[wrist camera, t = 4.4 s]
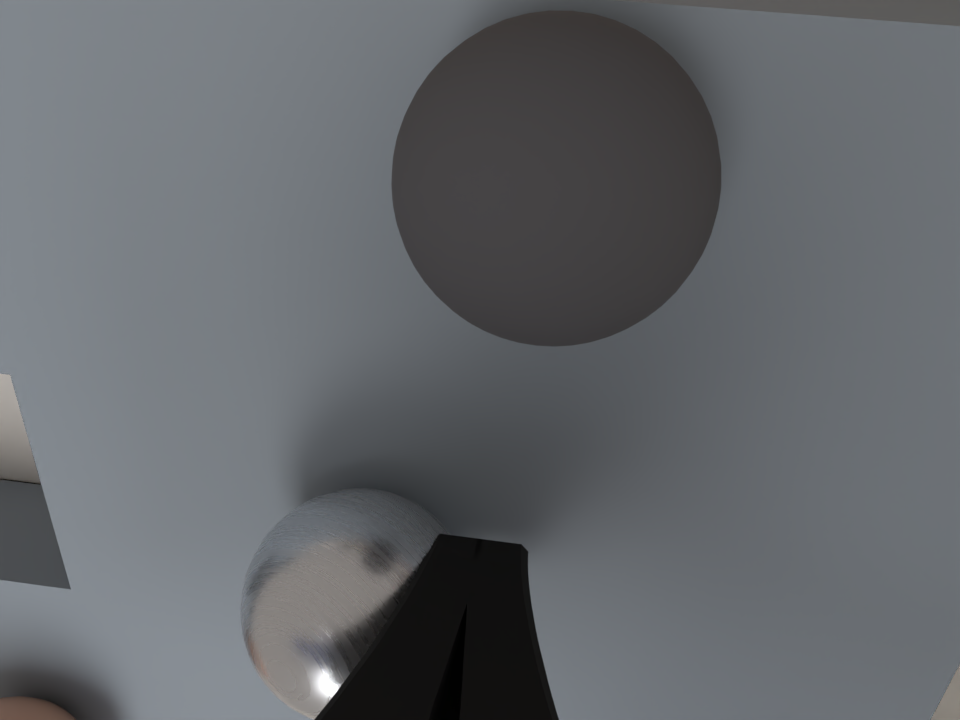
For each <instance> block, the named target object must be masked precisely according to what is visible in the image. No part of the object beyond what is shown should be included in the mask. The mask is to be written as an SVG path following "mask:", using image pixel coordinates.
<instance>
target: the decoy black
mask: <svg viewBox="0 0 960 720" xmlns="http://www.w3.org/2000/svg"><path fill="white" fill-rule="evenodd" d="M391 187H392V201H393V208H394V213H395V218H396V223H397V226H398V229H399V232H400V235H401V238H402V241H403V244H404V247H405V249H406V251H407V253H408V255H409V257H410V259H411V261H412V263H413V265H414V267H415V269H416V270H417V272H418V273H419V275H420V276H421V278H422V279H423V281H424V282H425V283H426V284H427V285H428V287H429V288H430V289H431V290H432V291H433V292H434V294H435V295H436V296H437V297H438V298H439V299H440V300H441V301H442V302H443V303H445V304H446V305H447V306H448V307H449V308H450V309H451V310H452V311H453V312H455V313H456V314H458V315H459V316H460V317H462V318H463V319H464V320H466V321H467V322H469V323H471V324H472V325H474V326H476V327H478V328H480V329H481V330H483V331H486V332H488V333H490V334H493V335H495V336H498V337H500V338H503V339H507V340H510V341H514V342H517V343H523V344H529V345H535V346H553V347H556V346H572V345H578V344H584V343H589V342H593V341H597V340H600V339H603V338H607V337H609V336H612V335H614V334H616V333H619V332H621V331H623V330H626V329H628V328H630V327H631V326H633V325H635V324H636V323H638V322H640V321H642V320H643V319H645V318H647V317H648V316H649V315H651V314H652V313H653V312H655V311H656V310H657V309H659V308H660V307H661V306H662V305H663V304H664V303H665V302H666V301H667V300H669V299H670V298H671V297H672V296H673V295H674V294H675V293H676V292H677V290H678V289H679V288H680V286H681V285H682V284H683V283H684V281H685V280H686V279H687V278H688V276H689V275H690V274H691V272H692V271H693V269H694V268H695V266H696V264H697V263H698V261H699V259H700V258H701V256H702V254H703V252H704V250H705V248H706V245H707V243H708V241H709V238H710V236H711V233H712V230H713V226H714V222H715V219H716V215H717V211H718V207H719V200H720V193H721V160H720V153H719V146H718V139H717V135H716V131H715V128H714V124H713V121H712V118H711V115H710V113H709V110H708V108H707V106H706V104H705V102H704V99H703V97H702V95H701V94H700V92H699V91H698V89H697V88H696V86H695V84H694V83H693V81H692V80H691V78H690V77H689V75H688V74H687V73H686V72H685V70H684V69H683V68H682V67H681V66H680V65H679V64H678V62H677V61H676V60H675V59H674V58H673V57H672V56H671V55H670V54H669V53H668V52H667V51H665V50H664V49H663V48H662V47H661V46H660V45H659V44H657V43H656V42H655V41H653V40H652V39H650V38H649V37H647V36H646V35H644V34H642V33H641V32H639V31H638V30H636V29H634V28H632V27H629V26H627V25H625V24H623V23H621V22H619V21H616V20H613V19H610V18H606V17H603V16H600V15H596V14H591V13H584V12H578V11H553V10H549V11H541V12H534V13H526V14H523V15H519V16H516V17H512V18H508V19H505V20H502V21H500V22H498V23H496V24H493V25H491V26H489V27H486V28H484V29H482V30H481V31H479V32H478V33H476V34H474V35H473V36H471V37H469V38H468V39H466V40H465V41H463V42H462V43H461V44H460V45H458V46H457V47H456V48H455V49H454V50H452V51H451V52H450V53H449V54H447V55H446V56H445V57H444V58H443V59H442V60H441V61H440V62H439V63H438V64H437V65H436V67H435V68H434V69H433V70H432V71H431V72H430V73H429V74H428V76H427V77H426V79H425V80H424V81H423V83H422V84H421V86H420V87H419V89H418V90H417V92H416V94H415V96H414V97H413V99H412V101H411V103H410V105H409V107H408V109H407V111H406V113H405V116H404V118H403V121H402V124H401V127H400V130H399V132H398V135H397V139H396V144H395V149H394V154H393V165H392V181H391Z"/></svg>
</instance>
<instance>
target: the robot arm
mask: <svg viewBox="0 0 960 720" xmlns="http://www.w3.org/2000/svg"><path fill="white" fill-rule="evenodd" d="M314 720H559V718H558V715H557V712H556V708H555V705H554V701H553V698H552V694H551V691H550V687H549V683H548V679H547V675H546V671H545V667H544V663H543V659H542V655H541V651H540V647H539V642H538V637H537V632H536V627H535V622H534V616H533V610H532V604H531V596H530V588H529V577H528V551H527V550H526V548H525V547H524V546H523V545H522V544H516V543H509V542H501V541H493V540H486V539H478V538H470V537H462V536H455V535H447V534H439V535H438V536H437V538H436V540H435V542H434V544H433V545H432V547H431V549H430V550H429V552H428V553H427V555H426V556H425V557H424V559H423V560H422V562H421V564H420V566H419V568H418V570H417V572H416V573H415V575H414V577H413V579H412V581H411V582H410V584H409V586H408V588H407V589H406V591H405V593H404V594H403V596H402V598H401V599H400V601H399V603H398V604H397V606H396V608H395V609H394V611H393V612H392V614H391V615H390V617H389V618H388V620H387V621H386V623H385V624H384V626H383V627H382V629H381V630H380V632H379V633H378V635H377V636H376V638H375V639H374V641H373V642H372V644H371V645H370V647H369V648H368V650H367V651H366V653H365V654H364V656H363V657H362V658H361V660H360V661H359V662H358V664H357V665H356V666H355V668H354V669H353V670H352V672H351V673H350V674H349V676H348V677H347V678H346V680H345V681H344V682H343V684H342V685H341V686H340V688H339V689H338V690H337V692H336V693H335V694H334V696H333V697H332V698H331V699H330V701H329V702H328V703H327V705H326V706H325V707H324V708H323V710H322V711H321V712H320V713H319V715H318V716H317V717H316V718H315V719H314Z"/></svg>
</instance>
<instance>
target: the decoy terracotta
mask: <svg viewBox="0 0 960 720" xmlns="http://www.w3.org/2000/svg"><path fill="white" fill-rule="evenodd" d="M0 720H76V719H75V718H74V717H73V716H72V715H71V714H70V713H69V712H67V711H66V710H65V709H63V708H61V707H60V706H58V705H56V704H54V703H52V702H49V701H46V700H43V699H39V698H34V697H25V696H13V697H2V698H0Z"/></svg>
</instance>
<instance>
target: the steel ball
mask: <svg viewBox="0 0 960 720" xmlns="http://www.w3.org/2000/svg"><path fill="white" fill-rule="evenodd" d="M439 534H447V535H450V533H449V532H448V531H447V529H446V528H445V527H444V526H443V525H442V524H441V523H440V521H439V520H438V519H436V518H435V517H434V516H433V515H432V514H431V513H430V512H428V511H427V510H426V509H425V508H423V507H422V506H420V505H418V504H417V503H415V502H413V501H411V500H409V499H407V498H405V497H403V496H400V495H397V494H395V493H392V492H388V491H383V490H377V489H369V488H355V489H343V490H339V491H334V492H330V493H326V494H323V495H321V496H318V497H316V498H313V499H311V500H309V501H307V502H305V503H303V504H302V505H300V506H298V507H297V508H295V509H294V510H292V511H291V512H290V513H288V514H287V515H286V516H285V517H284V518H283V519H281V520H280V521H279V522H278V523H277V524H276V525H275V526H274V528H273V529H272V530H271V531H270V532H269V533H268V535H267V536H266V537H265V538H264V539H263V541H262V543H261V544H260V546H259V547H258V549H257V551H256V553H255V554H254V556H253V558H252V561H251V563H250V565H249V568H248V570H247V573H246V577H245V580H244V585H243V589H242V595H241V606H240V619H241V628H242V636H243V640H244V644H245V647H246V650H247V653H248V655H249V658H250V661H251V663H252V665H253V667H254V669H255V671H256V672H257V674H258V676H259V677H260V679H261V680H262V681H263V683H264V684H265V685H266V687H267V688H268V689H269V690H270V691H271V692H272V693H273V694H274V695H275V696H276V697H277V698H278V699H279V700H280V701H281V702H283V703H284V704H285V705H286V706H288V707H289V708H291V709H292V710H294V711H296V712H298V713H300V714H302V715H304V716H306V717H308V718H310V719H312V720H314V719H315V718H316V717H317V716H318V715H319V713H320V712H321V711H322V710H323V708H324V707H325V706H326V705H327V703H328V702H329V701H330V699H331V698H332V697H333V696H334V694H335V693H336V692H337V690H338V689H339V688H340V686H341V685H342V684H343V682H344V681H345V680H346V678H347V677H348V676H349V674H350V673H351V672H352V670H353V669H354V668H355V666H356V665H357V664H358V662H359V661H360V660H361V658H362V657H363V656H364V654H365V653H366V651H367V650H368V648H369V647H370V645H371V644H372V642H373V641H374V639H375V638H376V636H377V635H378V633H379V632H380V630H381V629H382V627H383V626H384V624H385V623H386V621H387V620H388V618H389V617H390V615H391V614H392V612H393V611H394V609H395V608H396V606H397V604H398V603H399V601H400V599H401V598H402V596H403V594H404V593H405V591H406V589H407V588H408V586H409V584H410V582H411V581H412V579H413V577H414V575H415V573H416V572H417V570H418V568H419V566H420V564H421V562H422V560H423V559H424V557H425V556H426V555H427V553H428V552H429V550H430V549H431V547H432V545H433V544H434V542H435V540H436V538H437V536H438V535H439Z"/></svg>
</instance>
